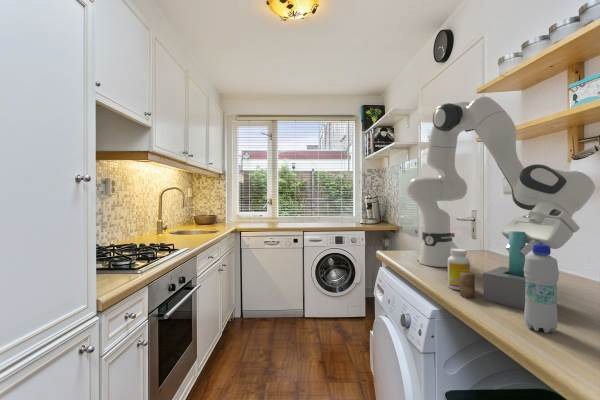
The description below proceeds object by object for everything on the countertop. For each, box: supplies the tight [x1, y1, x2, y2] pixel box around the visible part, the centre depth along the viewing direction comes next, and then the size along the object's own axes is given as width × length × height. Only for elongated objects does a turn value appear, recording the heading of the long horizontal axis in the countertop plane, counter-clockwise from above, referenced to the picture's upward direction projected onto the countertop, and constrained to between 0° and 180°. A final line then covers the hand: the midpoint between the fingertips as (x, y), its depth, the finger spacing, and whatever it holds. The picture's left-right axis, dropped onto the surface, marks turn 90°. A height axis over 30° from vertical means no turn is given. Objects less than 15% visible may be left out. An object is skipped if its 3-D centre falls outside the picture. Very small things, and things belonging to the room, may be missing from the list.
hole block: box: [482, 266, 526, 310], centre depth 96 cm, size 13×13×8 cm
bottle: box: [523, 244, 560, 334], centre depth 76 cm, size 7×7×20 cm
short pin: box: [459, 272, 476, 299], centre depth 100 cm, size 4×4×7 cm
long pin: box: [508, 231, 526, 277], centre depth 96 cm, size 4×4×13 cm
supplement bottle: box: [447, 248, 471, 291], centre depth 109 cm, size 7×7×13 cm
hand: (514, 251), depth 96 cm, fingers closed on long pin, 4 cm apart
